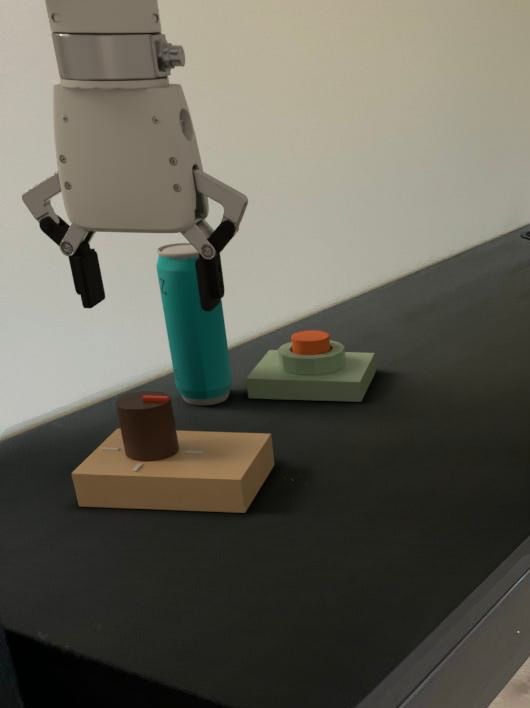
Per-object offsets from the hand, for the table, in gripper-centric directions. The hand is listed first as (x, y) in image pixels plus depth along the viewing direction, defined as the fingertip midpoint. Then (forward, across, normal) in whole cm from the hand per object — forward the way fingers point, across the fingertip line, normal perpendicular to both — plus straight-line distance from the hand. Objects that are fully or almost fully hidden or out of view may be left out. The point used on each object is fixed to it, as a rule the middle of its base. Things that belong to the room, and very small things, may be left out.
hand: (153, 305), depth 80 cm
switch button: (+11, -7, -24) cm, 27 cm away
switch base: (+14, -8, -24) cm, 29 cm away
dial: (+11, +1, +3) cm, 12 cm away
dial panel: (+14, -1, +3) cm, 15 cm away
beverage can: (+14, +3, -18) cm, 24 cm away
